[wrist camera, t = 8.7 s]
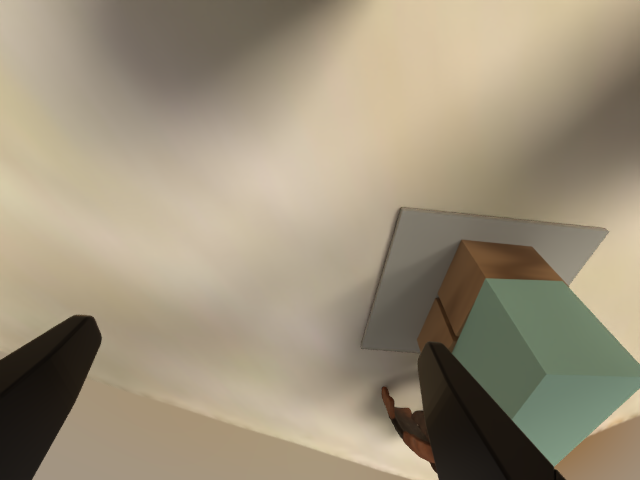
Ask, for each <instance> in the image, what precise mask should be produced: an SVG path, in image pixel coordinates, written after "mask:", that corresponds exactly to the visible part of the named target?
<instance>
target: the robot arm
mask: <svg viewBox="0 0 640 480" xmlns="http://www.w3.org/2000/svg"><path fill="white" fill-rule="evenodd" d="M101 340H102V336H101V333H100V330H99V328H98V326H97V323H96V321H95V319H94V317H92V316H90V315H74V316H72V317H70V318H68V319H67V320H65V321H63V322H62V323H60V324H58V325H57V326H55V327H53V328H52V329H50V330H49V331H47V332H45V333H44V334H42V335H40V336H39V337H37V338H35V339H34V340H32V341H31V342H29V343H27V344H26V345H24V346H22V347H21V348H19V349H17V350H16V351H14V352H13V353H11V354H9V355H8V356H6V357H5V358H3V359H1V360H0V480H32V479H33V477H34V475H35V473H36V471H37V470H38V468H39V466H40V464H41V462H42V461H43V459H44V457H45V455H46V454H47V452H48V450H49V448H50V446H51V444H52V443H53V441H54V439H55V437H56V436H57V434H58V432H59V430H60V428H61V427H62V425H63V423H64V421H65V420H66V418H67V415H68V414H69V412H70V411H71V409H72V407H73V405H74V403H75V401H76V399H77V397H78V395H79V392H80V391H81V388H82V386H83V384H84V381H85V379H86V377H87V375H88V372H89V370H90V368H91V365H92V363H93V361H94V358H95V356H96V354H97V352H98V349H99V347H100V344H101ZM418 373H419V380H420V388H421V395H422V403H423V410H424V417H425V423H426V428H427V432H428V436H429V441H430V445H431V449H432V453H433V457H434V461H435V466H436V470H437V474H438V478H439V480H566V479H565V478H564V477H563V476H562V475H561V474H560V473H559V472H558V470H554V466H553V465H552V464H551V463H550V462H549V460H548V459H547V458H546V457H545V456H544V455H543V454H542V453H541V452H540V450H539V449H538V448H537V447H536V446H535V445H534V444H533V443H532V442H531V441H530V439H529V438H528V437H527V436H526V435H525V434H524V433H523V432H522V431H521V429H520V428H519V427H518V426H517V425H516V424H515V423H514V422H513V421H512V419H511V418H510V417H509V416H508V415H507V414H506V413H505V412H504V411H503V409H502V408H501V407H500V406H499V405H498V404H497V403H496V402H495V401H494V399H493V398H492V397H491V396H490V395H489V394H488V393H487V392H486V391H485V389H484V388H483V387H482V386H481V385H480V384H479V383H478V382H477V381H476V379H475V378H474V377H473V376H472V375H471V374H470V373H469V372H468V371H467V369H466V368H465V367H464V366H463V365H462V364H461V363H460V362H459V361H458V359H457V358H456V357H455V356H454V355H453V354H452V353H451V352H450V351H449V350H448V348H447V347H446V346H445V345H444V344H442V343H441V342H431V341H429V342H427V343H426V344H425V346H424V348H423V350H422V352H421V354H420V356H419V359H418Z"/></svg>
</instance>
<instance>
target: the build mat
mask: <svg viewBox="0 0 640 480" xmlns="http://www.w3.org/2000/svg"><path fill="white" fill-rule="evenodd" d="M608 233H609V231H608V230H607V229H605V228H598V227H588V226H578V225H569V224H559V223H549V222H540V221H530V220H521V219H511V218H501V217H492V216H482V215H472V214H463V213H453V212H444V211H434V210H424V209H415V208H405V207H401V210H400V214H399V217H398V221H397V224H396V227H395V231H394V234H393V238H392V241H391V244H390V248H389V251H388V254H387V258H386V261H385V265H384V268H383V271H382V275H381V278H380V282H379V285H378V288H377V292H376V295H375V299H374V302H373V305H372V309H371V312H370V315H369V319H368V322H367V326H366V329H365V332H364V336H363V339H362V343H361V349H372V350H385V351H399V352H412V353H421V352H420V348H419V345H418V342H417V338H418V336H419V334H420V332H421V329H422V327H423V325H424V323H425V320H426V318H427V316H428V314H429V311H430V309H431V307H432V305H433V302H434V300H435V298H439V296H438V291H439V289H440V287H441V284H442V282H443V280H444V278H445V275H446V273H447V271H448V269H449V266H450V264H451V262H452V260H453V257H454V255H455V253H456V251H457V248H458V246H459V244H460V242H461V240H471V241H481V242H492V243H502V244H512V245H522V246H532V247H533V248H534V249H535V250H536V251H537V252H538V253H539V255H540V256H541V257H542V258H543V259H544V260H545V261H546V262H547V263H548V264H549V265H550V266H551V268H552V269H553V270H554V271H555V272H556V273H557V274H558V275H559V276H560V277H561V278H562V279H563V280H564V282H565V283H566V284H567V285H568V286H569V285H570V284H571V282H572V281H573V280H574V278H575V277H576V276H577V274H578V273H579V271H580V270H581V269H582V267H583V266H584V265H585V263H586V262H587V261H588V259H589V258H590V257H591V255H592V254H593V253H594V251H595V250H596V249H597V247H598V246H599V245H600V243H601V242H602V241H603V239H604V238H605V237H606V235H607V234H608Z"/></svg>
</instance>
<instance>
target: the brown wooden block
mask: <svg viewBox="0 0 640 480" xmlns="http://www.w3.org/2000/svg"><path fill="white" fill-rule="evenodd" d="M458 338H459V336H456V335H455V333H454V331H453V328H452V326H451V324H450V321H449V319H448V317H447V314H446V312H445V310H444V307H443V305H442V303H441V300H440V298H435V300H434V302H433V305H432V307H431V309H430V311H429V314H428V316H427V318H426V320H425V323H424V325H423V327H422V329H421V332H420V334H419V336H418V338H417V342H418V345H419V348H420V352H422V350H423V348H424V346H425V344H426V343H427V342H429V341H431V342H441V343H442V344H444V345H445V346H446V347H447V348H448V350H449V351H450V352H451V353H452V352H453V349H454V347H455V345H456V343H457V341H458Z"/></svg>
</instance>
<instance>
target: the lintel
mask: <svg viewBox="0 0 640 480" xmlns="http://www.w3.org/2000/svg"><path fill="white" fill-rule="evenodd" d="M452 354H453V355H454V356H455V357H456V358H457V359H458V361H459V362H460V363H461V364H462V365H463V366H464V367H465V368H466V369H467V371H468V372H469V373H470V374H471V375H472V376H473V377H474V378H475V379H476V381H477V382H478V383H479V384H480V385H481V386H482V387H483V388H484V389H485V391H486V392H487V393H488V394H489V395H490V396H491V397H492V398H493V399H494V401H495V402H496V403H497V404H498V405H499V406H500V407H501V408H502V409H503V411H504V412H505V413H506V414H507V415H508V416H509V417H510V418H511V419H512V421H513V422H514V423H515V424H516V425H517V426H518V427H519V428H520V429H521V431H522V432H523V433H524V434H525V435H526V436H527V437H528V438H529V439H530V441H531V442H532V443H533V444H534V445H535V446H536V447H537V448H538V449H539V450H540V452H541V453H542V454H543V455H544V456H545V457H546V458H547V459H548V460H549V462H550V463H551V464H552V465H553V466H555V465H556V464H558V463H559V462H560V461H561V460H562V459H563V458H564V457H565V456H566V455H567V454H568V453H569V452H571V451H572V450H573V449H574V448H575V447H576V446H577V445H578V444H579V443H580V442H582V441H583V440H584V439H585V438H586V437H587V436H588V435H589V434H590V433H591V432H593V431H594V430H595V429H596V428H597V427H598V426H599V425H600V424H601V423H602V422H603V421H604V420H606V419H607V418H608V417H609V416H610V415H611V414H612V413H613V412H614V411H615V410H616V409H618V408H619V407H620V406H621V405H622V404H623V403H624V402H625V401H626V400H627V399H628V398H630V397H631V396H632V395H633V394H634V393H635V392H636V391H637V390H638V389H639V388H640V364H639V363H638V362H637V361H636V360H635V359H634V358H633V357H632V356H631V355H630V353H629V352H628V351H627V350H626V349H625V348H624V347H623V346H622V345H621V344H620V343H619V342H618V340H617V339H616V338H615V337H614V336H613V335H612V334H611V333H610V332H609V331H608V330H607V328H606V327H605V326H604V325H603V324H602V323H601V322H600V321H599V320H598V319H597V318H596V317H595V315H594V314H593V313H592V312H591V311H590V310H589V309H588V308H587V307H586V306H585V305H584V304H583V302H582V301H581V300H580V299H579V298H578V297H577V296H576V295H575V294H574V293H573V292H572V291H571V289H570V288H569V287H568V286H567V285H566V284H565V283H564V282H563V281H547V280H519V279H491V278H485V280H484V283H483V285H482V287H481V289H480V292H479V294H478V296H477V298H476V300H475V303H474V305H473V307H472V309H471V312H470V314H469V316H468V318H467V320H466V323H465V325H464V327H463V329H462V332H461V334H460V336H459V338H458V341H457V343H456V345H455V347H454V349H453V352H452Z"/></svg>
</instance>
